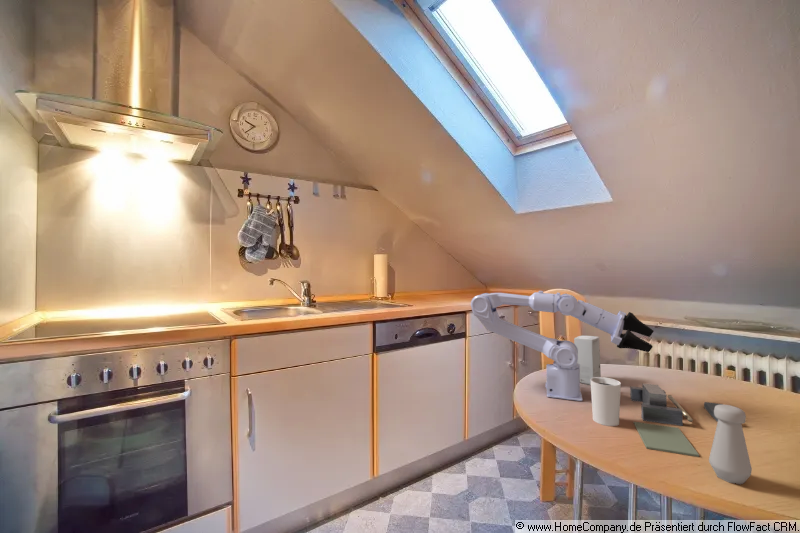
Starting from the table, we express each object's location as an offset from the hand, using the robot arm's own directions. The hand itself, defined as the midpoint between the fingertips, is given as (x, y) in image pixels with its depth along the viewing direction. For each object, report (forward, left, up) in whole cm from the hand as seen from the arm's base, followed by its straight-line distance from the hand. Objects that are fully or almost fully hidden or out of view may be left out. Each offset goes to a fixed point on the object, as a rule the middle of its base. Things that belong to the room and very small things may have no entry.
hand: (651, 341), depth 97 cm
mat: (-2, -20, -18) cm, 27 cm away
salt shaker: (+5, -33, -18) cm, 38 cm away
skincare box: (-14, +18, -18) cm, 29 cm away
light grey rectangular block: (0, -3, -18) cm, 18 cm away
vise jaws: (0, -3, -18) cm, 18 cm away
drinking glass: (-13, -14, -18) cm, 26 cm away
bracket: (+15, -1, -19) cm, 24 cm away
